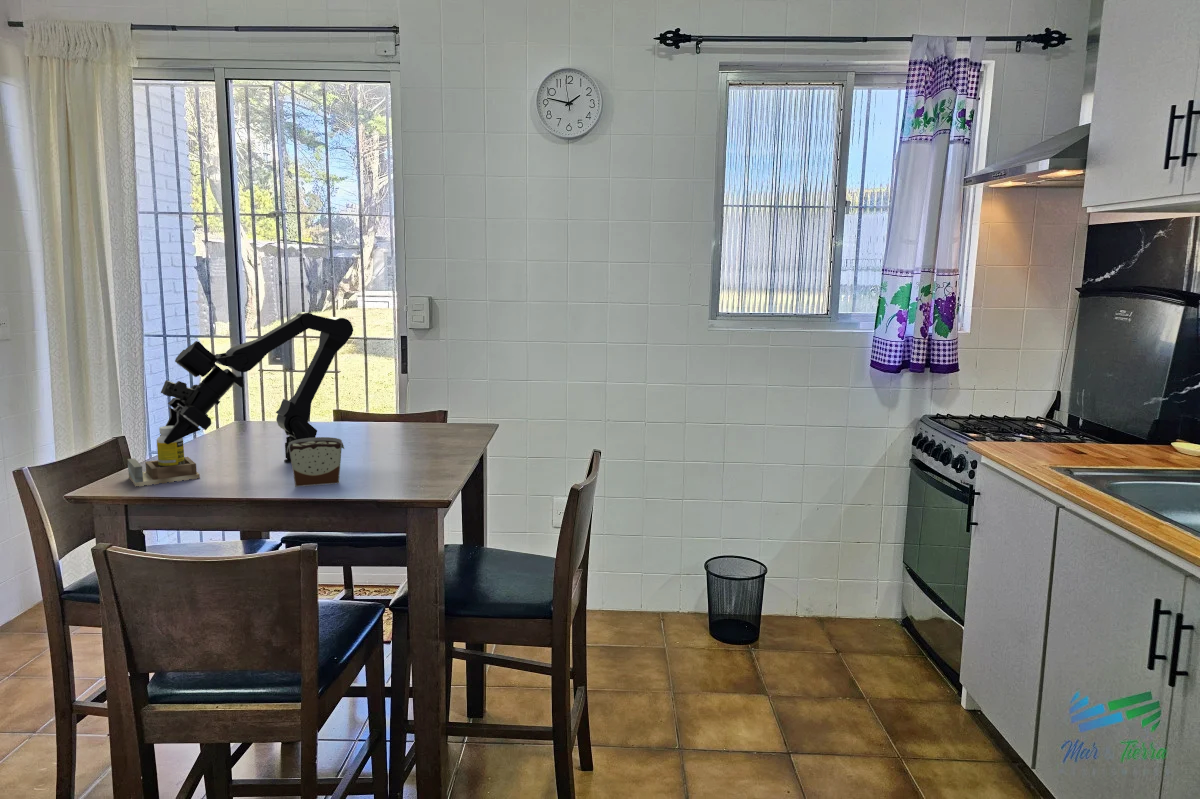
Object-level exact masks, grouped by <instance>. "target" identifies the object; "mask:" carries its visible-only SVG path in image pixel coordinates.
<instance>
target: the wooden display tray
mask: <svg viewBox="0 0 1200 799" xmlns="http://www.w3.org/2000/svg"><path fill="white" fill-rule="evenodd" d="M184 460H185V464H182V465H174V466H165V467H159V465H158V459H156V460H148V461H144V462H145V471H143V466H142V465H141V463H140V462H139V461H138V460H137V459H136V458H127V470H128V472H127V473H128V479H129V480H130V481H131V483H132V482H133V483H134V484H133V483H132V484H133V485H134V486H135V487H136V486H139V487H144V485H147V486H153V485H152V484H154V485H159V483H162V484H168V483H167V482H169V483H175V482H174V481H177V482H183V481H182V480H184V481H189V479H192V480H198V479H197V478H199V479H200V478H201V477H200V473H199V472H197V463H196V462H195V461H194V460H193V459H191V457H189V456H184Z"/></svg>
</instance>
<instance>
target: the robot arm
mask: <svg viewBox="0 0 1200 799" xmlns="http://www.w3.org/2000/svg"><path fill="white" fill-rule="evenodd" d="M307 330H313V331H318V332H320V334H319V342H318V347H317V349H316V352H315V353H314V355H313V357H312V360H311V361H310V363H309V365H308V367H307V369H306V370H305V373H304V375H303V377H302V380H301V381H300V383H299V385H298V388H297V389H296V391H295V393H294V395H293V396H292V397H290V399H285V398H283V399H282V401H281V404H280V406H279V408H278V410H276V411H275V414H277V416H276V418H275V419H276V423H277V426H278V427H279V428H280V429H282V430H283V431H284V432H285V435H287V437H286V439H285V440H286V442H284V449H285V450H284V451H285V452H284V454H285V455H284V456H285V459H284V460H283V462H284V463H291V458H290V452H289V451H288V452H287V447H288V445H289V443H290V442H291V441H294V440H298V439H304V438H315V437H317V433H318V430H317V429H316V428H315V426H313V425H311V424H310V423H309V420H310V418H311V409H312V402H313V400H314V398H315V397H316V394H317V392H318V390H319V388H320V385H321V384H322V382H323V380H324V378H325V375H326V373H327V371H328V370H329V368H330V365H331V363H332V361H333V359H334V357H335V355H336V354H337V353H338V352H339V350H341V349H342V348H343V347H344V346H345V345H346V343H347V342H349V339H350V338H351V337H352V335H353V332H354V326H353V324H352V323H351V321H350V320H349V319H347V318H345V317H338V316H331V317H325V316H319V315H316V314H313V313H311V312H307V311H302V312H301V311H300V312H299V313H297V314H296V315H295V316H294V317H292V318H290V319H289V320H287V321H286V322H284V323H282V324H279V326H277V327H275V328H274V329H272V330H270V331H268V332H267V333H265V334H263V335H262V336H259V337H258V338H256V339H253V340H250V341H247V342H244V343H241V344H238V345H235V346H233V347H231V348H229V349H228V350H227V351H225V352H222V353H216V354H214V353H212V351H210V350H208V349H207V348H206V347H205V346H204V345H203V344H202V343H201V342H200V341H198V340H196V341H194V342H192V344H190V345H189V346H187V347H186V348H185V349H183V350H182V351H180V353H178V355H177V357H176V358H175V360H174V362H175V363H176V364H177V365H179V366H180V368H182V369H184V370H185V371H186V372H187V373H189V374H191V375H192V376H193V377H194V378H197V377H201V378H203V379H202V381H201V382H200V383H198V384H193V385H192V386H191V387H188V385H187V383H186V382H182V381H180V380H178V381H177V382H173V381H170V380H165V382H164V384H163V386H162V389H161V391H160V394H162V395H163V396H167V397H170V398H171V399H170V401H168V403H167V405H169V407H168V411H169V418H168V421H167V423H166V424H165V426H174V427H173V428H172V430H171V431H170V432H169V434H168V435H167V437H166V438H165V440H164V443H166V444H170V443H172V442H174V441H176V440H179V439H181V438H183V439H184V438H185V437H186V436H190V435H191V434H193V433H196V432H198V431H202V430H201V428H202V429H203V430H204V431H207V430H208V428H210V427H211V425H212V418H211V417H209V415H208V413H209V412H210V411H211V409H212V408H213V407H214V406H215V405H217V406H219V404H220V403H221V401H220V400H221V399H222V397H223V396H225V394H226V393H227V392H228V391H229V390H230V389H231V388H232V386H234V385H236V387H239V388H244V387H245V385H244V376H243V375H236V374H235V373H234V372H233V371H236V372H239V373H246V372H249V371H251V370H252V369H254V367H256V366H257V365H258V364H259V363H261V362H262V361H263V359H264V358H265V357H266V356H267V355H268V354H269V353H270V352H272V351H274V350H275V349H277V348H278V347H280V346H282V345H283V344H285V343H286V342H288V341H290V340H293V339H294V338H295V337H297V336H298V335H300V334H302V333H304V332H305V331H307ZM218 365H220V366H224V367H228V368H225V369H222V368H221V367H219V366H218ZM230 369H231V370H230ZM232 370H233V371H232ZM160 436H161V434H159V437H160Z"/></svg>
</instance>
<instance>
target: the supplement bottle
mask: <svg viewBox="0 0 1200 799" xmlns="http://www.w3.org/2000/svg"><path fill="white" fill-rule="evenodd" d="M173 427H174V426H166V425H163V426H160V427H159V428H158V430H159V436H158V437H157V439H156V452H157V460H158V465H159V467H165V466H174V465H182V464H185V460H184V457H185V450H184V447H185V446H184V437H183V438H181V439H179V440H176V441H174V442H172V443H170V444H166V443H164V440H165V438H166V437H167V435H168V434H169V432H170V431H171V430H172V428H173ZM160 435H161V436H160Z"/></svg>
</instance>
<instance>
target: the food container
mask: <svg viewBox="0 0 1200 799" xmlns="http://www.w3.org/2000/svg"><path fill="white" fill-rule="evenodd" d="M342 449H343V450H345V446H344V443H343V440H342V439H340V438H337V437H327V436H326V437H325V436H324V437H323V436H322V437H321V436H318V437H317V436H316V437H315V438H304V439H298V440H294V441H291V442H290V443H289V445H288V447H287V452H288V451H289V452H290V458H291V462H290V463H291V469H292V473H293V474H292V475H293V476H292V477H293V482H294V487H295V488H300V486H302V487H312V486H313V485H314V486H323V485H324V486H326V485H325V484H327V485H339V484H340V477H341V476H340V475H341V473H340V472H341V462H342V459H341V458H342ZM335 483H337V484H335ZM338 483H339V484H338Z"/></svg>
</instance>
